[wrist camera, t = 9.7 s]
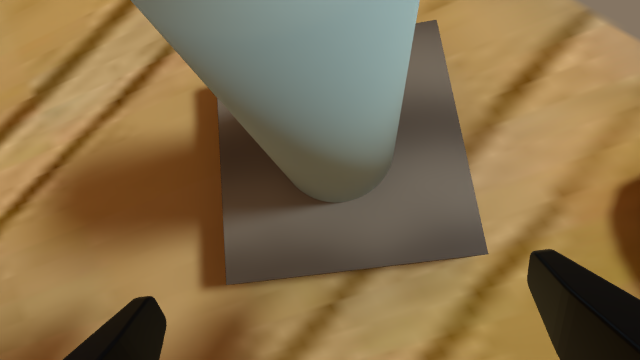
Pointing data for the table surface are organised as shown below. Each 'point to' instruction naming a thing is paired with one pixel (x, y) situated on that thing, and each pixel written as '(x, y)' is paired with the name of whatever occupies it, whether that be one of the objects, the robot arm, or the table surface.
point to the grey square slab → (367, 211)
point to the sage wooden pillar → (303, 79)
